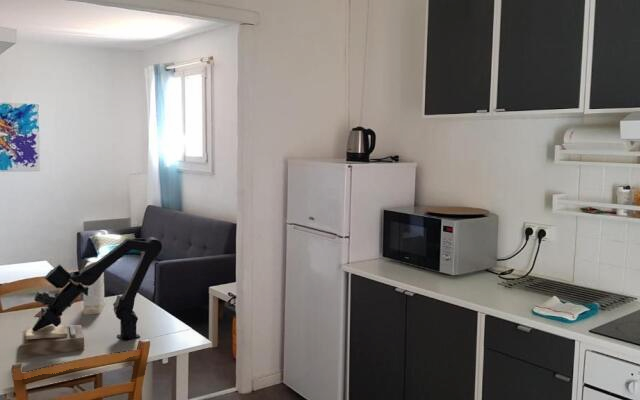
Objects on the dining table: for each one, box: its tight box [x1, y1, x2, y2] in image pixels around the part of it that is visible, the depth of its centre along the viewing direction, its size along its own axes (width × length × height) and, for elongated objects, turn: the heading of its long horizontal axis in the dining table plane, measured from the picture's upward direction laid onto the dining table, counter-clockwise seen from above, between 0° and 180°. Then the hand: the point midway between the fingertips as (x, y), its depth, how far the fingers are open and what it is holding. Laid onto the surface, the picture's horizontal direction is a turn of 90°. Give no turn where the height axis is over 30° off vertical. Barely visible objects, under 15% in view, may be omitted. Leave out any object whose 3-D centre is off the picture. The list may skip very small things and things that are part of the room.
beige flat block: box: [21, 323, 85, 359], centre depth 202 cm, size 20×15×6 cm
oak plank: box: [25, 324, 67, 339], centre depth 201 cm, size 13×10×1 cm
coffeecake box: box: [82, 261, 105, 315], centre depth 247 cm, size 15×7×20 cm, turn 14°
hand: (33, 330), depth 199 cm, fingers closed, pressing on oak plank
